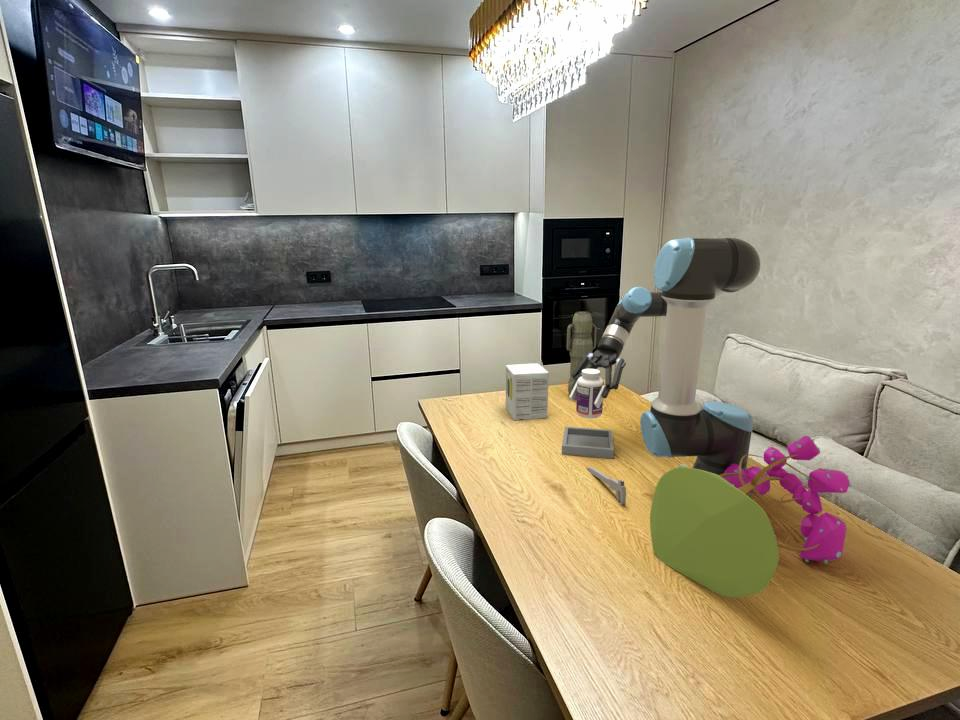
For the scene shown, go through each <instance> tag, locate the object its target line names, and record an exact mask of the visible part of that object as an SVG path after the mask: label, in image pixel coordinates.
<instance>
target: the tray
mask: <svg viewBox="0 0 960 720" xmlns="http://www.w3.org/2000/svg"><path fill="white" fill-rule="evenodd" d="M562 436H563V437H562V444H561V455H568V456H578V457H579V456H580V457H589V458H591V457H592V458H593V457H594V458H602V459H603V458H604V459H614V458H615V457H614V454H615V449H614V446H615V445H614V435H613V430H612V429H604V428H603V429H602V428H601V429H600V428H590V427H578V426H577V427H573V426H564V430H563V435H562Z"/></svg>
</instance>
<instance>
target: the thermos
mask: <svg viewBox="0 0 960 720" xmlns="http://www.w3.org/2000/svg"><path fill="white" fill-rule="evenodd" d="M597 331H598V328H597V326H596V324H594V323H593V318H592V313H590V311H582V310H581V311H576V312H575V313H574V315H573V318H572V323H571V324H568V326H567V328H566V350H567V351H568V352H569V356H570V366H569V367H570V368H569V369H570V370H569V373H570V374H569V378H568V385H567V391H568V395H567V398H569V396H570V394H571V392H572V385H573V383H574V381H575V380H574V379H573V377H572V376H571V374H572V373H573V372H574V370H575V369H576V367H577V366H578V365H579V363H580V362H581V360H582V359H583V357H584V354H585V352H588V353H593V351H594V350H595V349H597ZM571 333H572V334H571ZM591 361H592V360H591ZM591 361H589V363H588V365H589V364H590V362H591ZM588 365H587V366H588ZM587 366H586V367H587ZM586 367H585V368H586ZM575 401H577V397H576V399H575Z"/></svg>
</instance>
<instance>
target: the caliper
mask: <svg viewBox="0 0 960 720" xmlns="http://www.w3.org/2000/svg"><path fill="white" fill-rule="evenodd" d="M586 470H588V472H589V473H590V474H591V475H592V476H594V477H596V478H598V479H599V480H601V481H602V482H603V483H605V484H606V485H608V486H609V489H610V490H612V491H615V496H616V501H617V503H620V505H621V506H623V505H626V501H627V500H626V499H627V487H626V485H625V481H624V480H622V479H618V480H617V479H614V478H613V477H609V476H608V475H606V474H604V473H603V472H601V471H599V470H597V468H595V467H593V466H588V467H586Z"/></svg>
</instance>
